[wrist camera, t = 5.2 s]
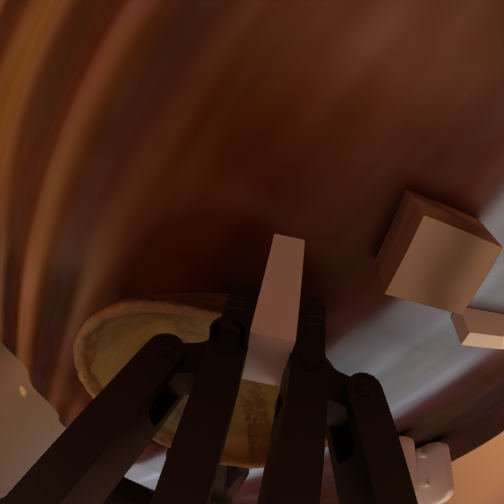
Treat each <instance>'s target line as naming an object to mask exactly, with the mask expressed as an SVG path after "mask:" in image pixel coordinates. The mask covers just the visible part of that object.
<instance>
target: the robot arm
mask: <svg viewBox="0 0 504 504" xmlns="http://www.w3.org/2000/svg"><path fill="white" fill-rule="evenodd" d="M304 244H305V240H302V239H298V238H293V237H288V236H283V235H279V234H274V238H273V242H272V246H271V250H270V254H269V258H268V262H267V266H266V270H265V274H264V278H263V282H262V286H261V288H260V287H256V286H251V285H246V284H242V283H238V284H237V285H236V286H234V287H233V288H232V289H231V291H230V294H229V297H228V300H227V302H226V305H225V307H224V310H223V313H222V316H221V317H219V318H217V319H215V320H214V321H213V322H212V323H211V325H210V329H209V339H208V340H206V341H203V342H199V343H183V341H182V339H180V338H179V337H178V336H176V335H173V334H170V333H161V334H158V335H155V336H153V337H152V338H151V339H149V340H148V342H147V343H146V344H145V345H144V346H143V347H142V348H141V349H140V350H139V351H138V352H137V353H136V354H135V355H134V356H133V357H132V359H131V360H130V361H129V362H128V363H127V364H126V365H125V366H124V367H123V368H122V369H121V370H120V371H119V372H118V374H117V375H116V376H115V377H114V378H113V379H112V380H111V381H110V382H109V383H108V384H107V385H106V386H105V388H104V389H103V390H102V391H101V392H100V393H99V394H98V395H97V396H96V397H95V398H94V399H93V400H92V402H91V403H90V404H89V405H88V406H87V407H86V408H85V409H84V410H83V411H82V412H81V413H80V415H79V416H78V417H77V418H76V419H75V420H74V421H73V422H72V423H71V424H70V425H69V427H68V428H67V429H66V430H65V431H64V432H63V433H62V434H61V435H60V437H59V438H58V439H57V440H56V441H55V442H54V443H53V444H52V445H51V447H49V449H48V450H47V451H46V452H45V453H44V454H43V455H42V456H41V457H40V459H39V460H38V461H37V462H36V463H35V464H34V465H33V466H32V467H31V469H30V470H29V471H28V472H27V473H26V474H25V475H24V476H23V477H22V479H21V480H20V481H19V482H18V483H17V484H16V485H15V486H14V488H13V489H12V490H11V491H10V492H9V493H8V494H7V495H6V496H5V497H3V498H1V499H0V504H232V500H233V498H234V497H235V495H236V493H237V492H238V490H239V489H240V487H241V486H242V484H243V483H244V481H245V480H246V478H247V476H248V474H249V470H250V468H243V467H237V466H228V465H221V464H220V462H221V458H222V455H223V451H224V447H225V443H226V439H227V435H228V432H229V428H230V424H231V420H232V416H233V412H234V408H235V404H236V400H237V396H238V392H239V388H240V383H241V379H246V380H250V381H255V382H260V383H265V384H270V385H275V386H280V391H279V394H278V397H277V399H276V402H275V404H274V407H273V408H275V412H274V418H273V424H272V429H271V435H270V440H269V446H268V451H267V457H266V462H265V467H264V472H263V477H262V482H261V487H260V492H259V497H258V502H257V504H320V495H321V485H322V475H323V464H324V452H325V438H327V443H328V448H329V453H330V458H331V463H332V468H333V473H334V479H335V484H336V489H337V495H338V500H339V504H418V502H417V498H416V494H415V490H414V487H413V483H412V480H411V476H410V473H409V469H408V466H407V462H406V459H405V456H404V452H403V449H402V446H401V443H400V439H399V436H398V433H397V430H396V427H395V424H394V421H393V418H392V415H391V412H390V409H389V406H388V403H387V400H386V397H385V394H384V391H383V389H382V386H381V384H380V382H379V381H378V380H377V379H376V378H375V377H374V376H372V375H370V374H368V373H361V372H360V373H356V374H353V375H352V376H351V377H350V376H347V375H345V374H343V373H341V372H339V371H337V370H335V369H334V368H333V367H332V366H330V364H329V363H328V361H327V359H326V357H325V315H326V308H325V306H324V304H323V302H322V301H321V299H317V298H312V297H307V296H302V295H300V293H301V281H302V270H303V257H304ZM280 383H281V385H280ZM185 395H189V397H188V400H187V403H186V405H185V408H184V411H183V414H182V416H181V419H180V422H179V425H178V427H177V430H176V433H175V436H174V438H173V441H172V444H171V447H170V448H168V450H167V453H166V461H165V463H164V466H163V469H162V472H161V475H160V477H159V480H158V483H157V486H156V489H155V490H153V489H150V488H148V487H145V486H143V485H141V484H138V483H136V482H134V481H132V480H129V479H127V478H125V477H124V475H125V474H126V473H127V471H128V470H129V469H130V468H131V466H132V465H133V464H134V462H135V461H136V460H137V458H138V457H139V456H140V454H141V453H142V452H143V451H144V449H145V448H146V447H147V445H148V444H149V443H150V441H151V440H152V439H153V437H154V436H155V435H156V433H157V432H158V431H159V429H160V428H161V427H162V425H163V424H164V423H165V421H166V420H167V419H168V417H169V416H170V415H171V413H172V412H173V411H174V409H175V408H176V407H177V405H178V404H179V403H180V401H181V400H182V399H183V397H184V396H185Z"/></svg>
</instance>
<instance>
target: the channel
mask: <svg viewBox="0 0 504 504" xmlns="http://www.w3.org/2000/svg"><path fill="white" fill-rule="evenodd" d="M451 320H452V322H453V325H454V327H455V330H456V332H457V335H458V337H459V340H460V343H461V345H467V346H476V347H485V348H495V349H504V314H500V313H494V312H489V311H483V310H478V309H473V308H467V307H466V309H465V310H464V312H463V313H462V315H461V314H457V313H454V314H453V315H452V317H451Z"/></svg>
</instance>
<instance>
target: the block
mask: <svg viewBox="0 0 504 504" xmlns="http://www.w3.org/2000/svg"><path fill="white" fill-rule="evenodd" d="M501 250H502V246H501V245H500V244H499V243H498V242H497V240H496V239H495V238H494V237H493V236H492V234H491V233H490V232H489V231H488V230H487V229H486V228H485V227H484V225H483V224H482V223H481V222H480V221H479V220H478V219H476V218H474V217H471V216H469V215H467V214H465V213H462V212H460V211H458V210H455V209H453V208H451V207H448V206H446V205H444V204H441V203H439V202H436V201H434V200H431V199H429V198H426V197H424V196H421V195H419V194H416V193H413V192H411V191H408V190H405V193H404V195H403V198H402V200H401V203H400V205H399V207H398V210H397V212H396V214H395V217H394V219H393V221H392V224H391V226H390V228H389V230H388V233H387V235H386V237H385V239H384V242H383V244H382V246H381V248H380V250H379V252H378V255H377V257H376V259H375V260H376V264H377V267H378V271H379V275H380V278H381V282H382V286H383V290H384V294H386V295H390V296H394V297H398V298H401V299H405V300H409V301H413V302H416V303H420V304H424V305H427V306H431V307H435V308H439V309H442V310H446V311H450V312H454V313H457V314H461V315H462V313H463V312H464V310H465V309H466V307H467V306H468V304H469V303H470V301H471V300H472V298H473V297H474V295H475V294H476V292H477V291H478V289H479V288H480V286H481V284H482V283H483V281H484V279H485V278H486V276H487V275H488V273H489V271H490V270H491V268H492V266H493V264H494V263H495V261H496V259H497V257H498V256H499V254H500V252H501Z"/></svg>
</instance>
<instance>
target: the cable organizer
mask: <svg viewBox="0 0 504 504" xmlns="http://www.w3.org/2000/svg"><path fill="white" fill-rule="evenodd" d="M399 439H400V443H401V446H402V449H403V452H404V456H405V459H406V462H407V466H408V469H409V473H410V476H411V480H412V483H413V487H414V490H415V494H416V498H417V502H418V504H441V503H444V502H445V501H447V500H448V499H449V498H450V497H451V496H452V494H453V492H454V483H453V475H452V466H451V459H450V452H449V447H448V445H447V444H445V443H442V442H434V443H428V444H426V445H424V446H422V447H421V448H419V449H418V448H417V450H415V446H414V441H413V439H411V438H409V437H405V436H399Z"/></svg>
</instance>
